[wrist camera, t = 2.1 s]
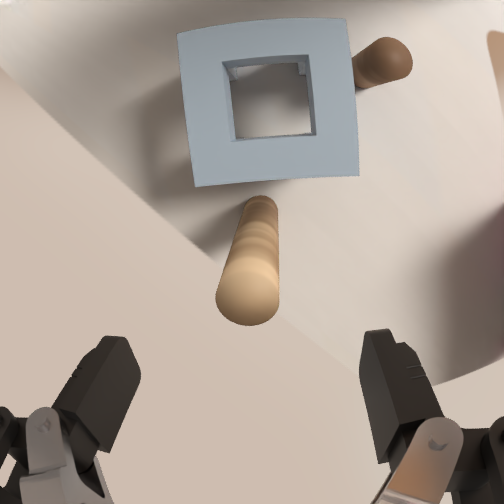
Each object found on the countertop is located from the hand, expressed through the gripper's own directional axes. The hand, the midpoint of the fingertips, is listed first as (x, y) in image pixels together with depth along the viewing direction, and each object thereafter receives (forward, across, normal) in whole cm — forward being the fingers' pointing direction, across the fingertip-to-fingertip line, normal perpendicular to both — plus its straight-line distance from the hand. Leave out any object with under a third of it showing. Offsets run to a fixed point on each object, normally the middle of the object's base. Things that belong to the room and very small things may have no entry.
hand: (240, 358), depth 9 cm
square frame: (+15, -2, -8) cm, 17 cm away
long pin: (+15, 0, 0) cm, 15 cm away
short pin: (+15, -9, -11) cm, 20 cm away
